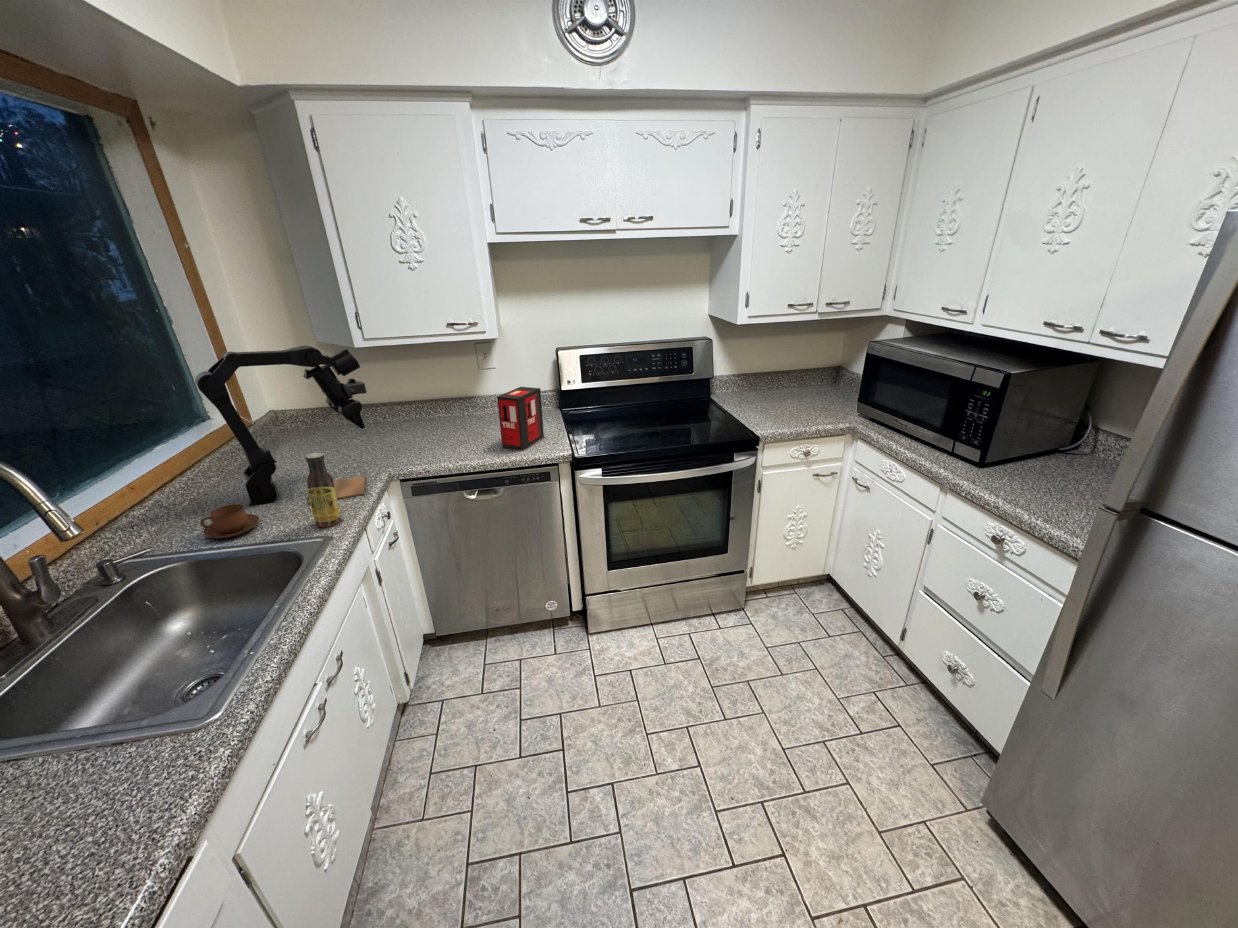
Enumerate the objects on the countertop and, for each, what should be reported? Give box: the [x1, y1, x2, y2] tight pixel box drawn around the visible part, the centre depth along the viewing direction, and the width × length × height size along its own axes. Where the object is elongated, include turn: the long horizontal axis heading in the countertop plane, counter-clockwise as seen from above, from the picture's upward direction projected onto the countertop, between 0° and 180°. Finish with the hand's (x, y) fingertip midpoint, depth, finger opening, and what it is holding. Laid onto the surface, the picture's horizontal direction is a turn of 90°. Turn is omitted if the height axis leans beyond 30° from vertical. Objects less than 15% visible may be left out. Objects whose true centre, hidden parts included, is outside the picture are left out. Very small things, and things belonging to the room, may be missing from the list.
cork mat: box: [307, 475, 366, 505], centre depth 158 cm, size 15×15×1 cm
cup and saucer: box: [199, 503, 260, 539], centre depth 133 cm, size 12×12×6 cm
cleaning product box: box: [496, 386, 545, 451], centre depth 194 cm, size 16×9×20 cm, turn 160°
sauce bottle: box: [305, 452, 341, 528], centre depth 134 cm, size 7×6×20 cm
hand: (359, 425), depth 164 cm, fingers open, 9 cm apart
